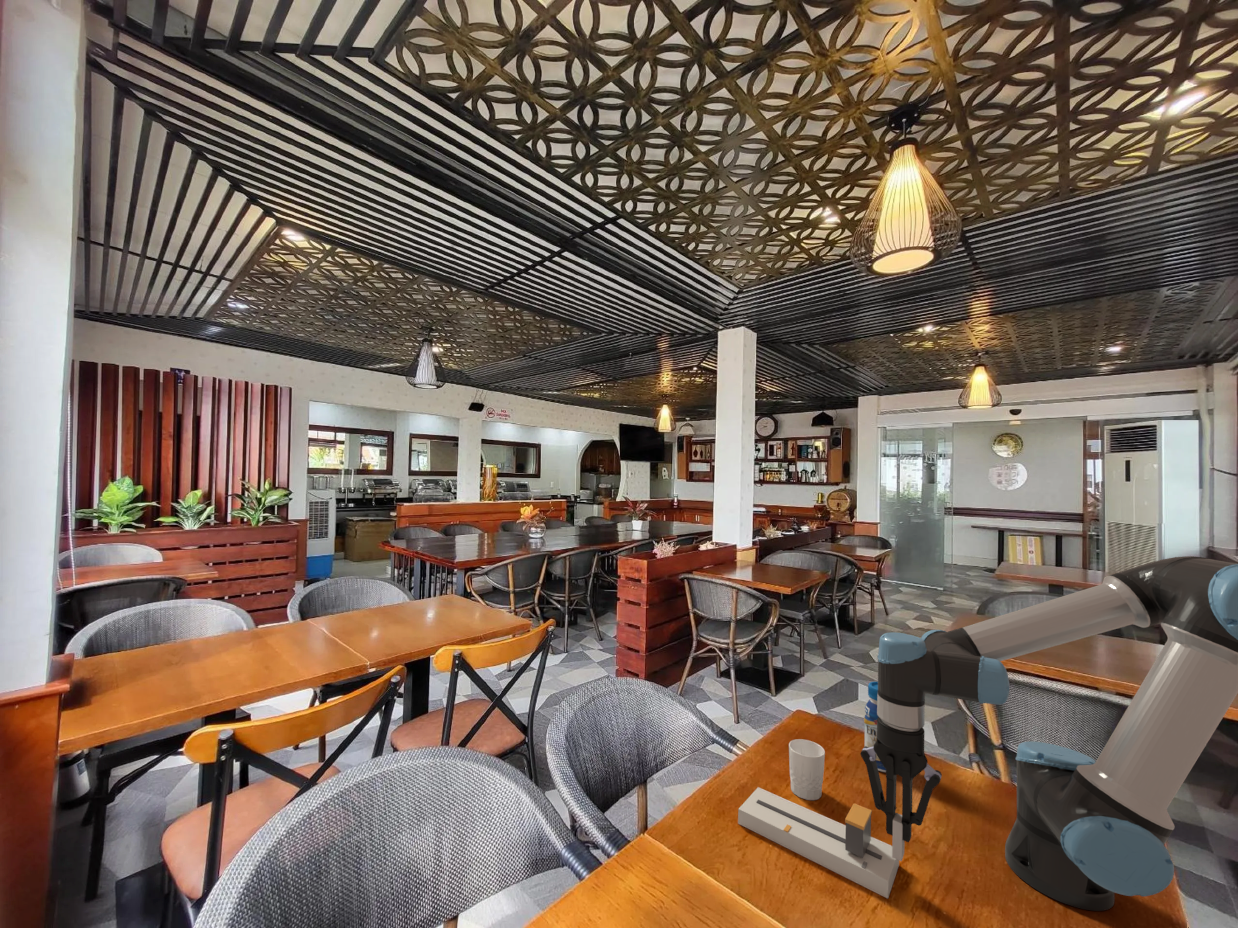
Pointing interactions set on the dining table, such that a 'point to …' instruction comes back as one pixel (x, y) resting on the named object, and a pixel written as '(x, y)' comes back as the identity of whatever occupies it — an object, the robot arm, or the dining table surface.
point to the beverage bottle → (872, 721)
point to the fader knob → (858, 830)
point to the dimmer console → (818, 840)
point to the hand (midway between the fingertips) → (898, 854)
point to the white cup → (806, 768)
